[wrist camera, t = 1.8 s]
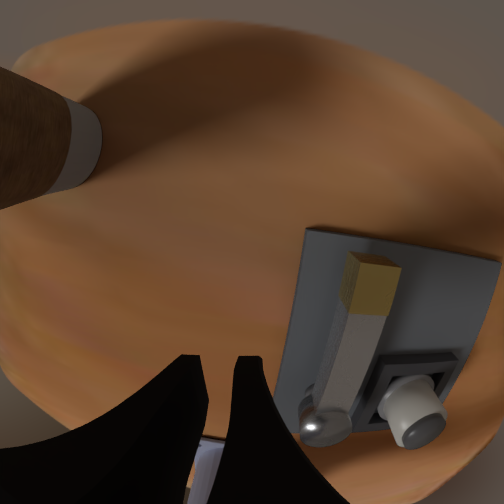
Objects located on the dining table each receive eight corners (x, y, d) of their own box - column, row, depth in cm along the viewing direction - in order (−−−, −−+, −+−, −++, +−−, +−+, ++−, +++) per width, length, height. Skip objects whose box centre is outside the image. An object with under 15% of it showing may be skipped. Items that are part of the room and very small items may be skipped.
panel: (427, 417, 19) (434, 430, 17) (266, 424, 19) (265, 442, 17) (495, 260, 15) (511, 267, 13) (305, 227, 15) (310, 234, 13)
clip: (336, 420, 16) (342, 446, 14) (293, 420, 16) (294, 447, 14) (393, 257, 13) (415, 271, 11) (337, 249, 13) (351, 263, 11)
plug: (413, 408, 17) (434, 449, 12) (365, 412, 18) (381, 460, 13) (437, 364, 16) (467, 404, 11) (387, 367, 16) (413, 415, 11)
